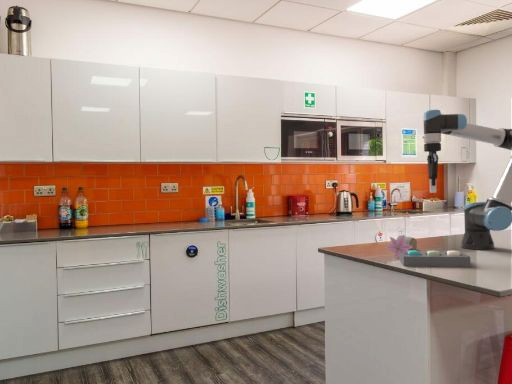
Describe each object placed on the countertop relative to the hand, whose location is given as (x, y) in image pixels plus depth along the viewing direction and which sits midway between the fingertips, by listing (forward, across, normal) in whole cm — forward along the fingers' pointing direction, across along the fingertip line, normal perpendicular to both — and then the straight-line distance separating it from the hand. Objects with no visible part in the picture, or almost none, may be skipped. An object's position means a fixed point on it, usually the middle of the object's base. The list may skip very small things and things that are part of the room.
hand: (433, 192), depth 208 cm
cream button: (+28, +24, +3) cm, 37 cm away
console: (+29, +24, -5) cm, 38 cm away
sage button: (+28, +24, -5) cm, 37 cm away
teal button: (+28, +24, -13) cm, 39 cm away
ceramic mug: (+30, -10, -11) cm, 33 cm away
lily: (+30, +9, -17) cm, 35 cm away
